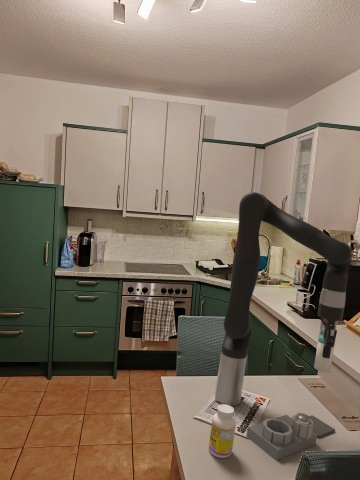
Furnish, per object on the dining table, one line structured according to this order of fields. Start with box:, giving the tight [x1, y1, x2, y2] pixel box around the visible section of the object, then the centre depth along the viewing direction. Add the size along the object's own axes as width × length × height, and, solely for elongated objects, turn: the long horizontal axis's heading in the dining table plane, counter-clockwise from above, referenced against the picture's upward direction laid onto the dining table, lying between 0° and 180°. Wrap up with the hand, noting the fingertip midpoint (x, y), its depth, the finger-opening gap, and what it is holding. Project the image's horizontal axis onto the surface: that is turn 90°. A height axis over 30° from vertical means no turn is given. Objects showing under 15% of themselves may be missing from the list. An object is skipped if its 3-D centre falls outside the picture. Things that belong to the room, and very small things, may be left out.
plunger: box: [296, 412, 310, 425], centre depth 115 cm, size 4×4×5 cm
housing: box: [246, 414, 318, 461], centre depth 115 cm, size 18×12×7 cm, turn 124°
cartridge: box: [313, 333, 336, 373], centre depth 122 cm, size 5×5×11 cm
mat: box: [308, 414, 336, 439], centre depth 125 cm, size 9×9×1 cm
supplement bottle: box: [208, 403, 237, 459], centre depth 106 cm, size 7×7×13 cm
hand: (324, 354), depth 122 cm, fingers closed on cartridge, 5 cm apart
